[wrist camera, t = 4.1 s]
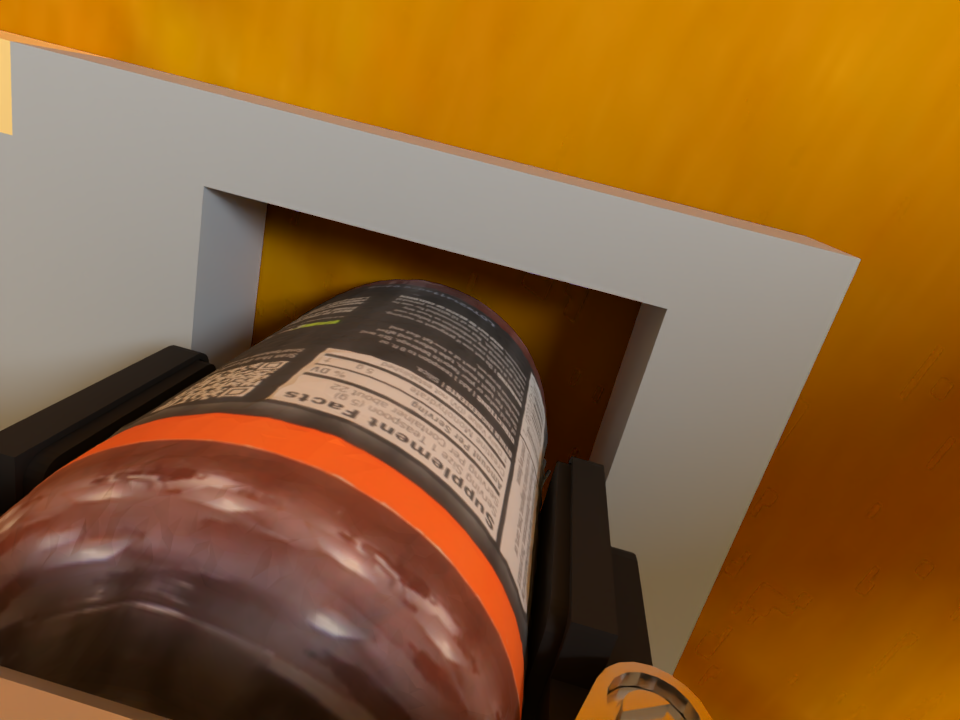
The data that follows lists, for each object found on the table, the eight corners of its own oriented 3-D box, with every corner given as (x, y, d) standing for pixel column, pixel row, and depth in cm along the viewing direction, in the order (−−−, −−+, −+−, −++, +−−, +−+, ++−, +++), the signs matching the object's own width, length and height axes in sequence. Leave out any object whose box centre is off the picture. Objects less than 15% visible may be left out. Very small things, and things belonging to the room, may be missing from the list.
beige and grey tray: (805, 236, 12) (861, 259, 10) (625, 668, 16) (634, 759, 13) (-500, -98, 14) (-725, -148, 11) (-377, 369, 17) (-526, 405, 15)
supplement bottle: (422, 560, 16) (93, 1439, 5) (241, 391, 15) (-600, 1013, 4) (609, 414, 14) (715, 1342, 3) (412, 210, 13) (-347, 523, 2)
